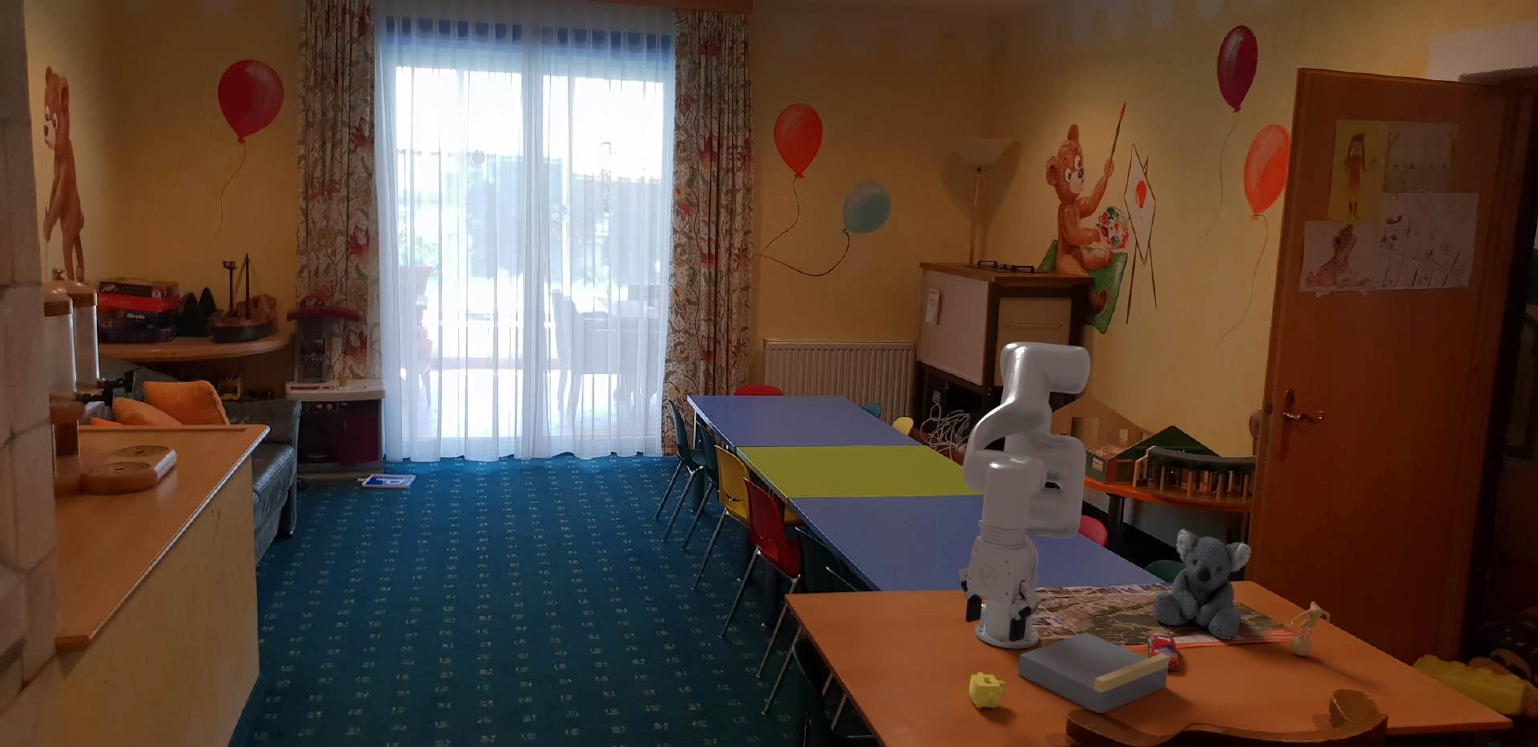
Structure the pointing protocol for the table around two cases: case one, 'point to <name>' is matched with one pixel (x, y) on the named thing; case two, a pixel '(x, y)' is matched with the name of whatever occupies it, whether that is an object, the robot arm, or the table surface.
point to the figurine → (1302, 642)
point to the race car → (1164, 649)
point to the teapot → (986, 690)
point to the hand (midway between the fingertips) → (994, 630)
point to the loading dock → (1094, 671)
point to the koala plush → (1204, 585)
